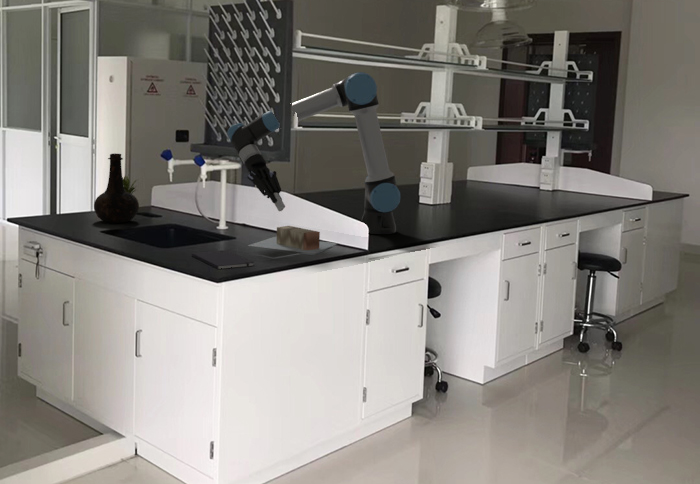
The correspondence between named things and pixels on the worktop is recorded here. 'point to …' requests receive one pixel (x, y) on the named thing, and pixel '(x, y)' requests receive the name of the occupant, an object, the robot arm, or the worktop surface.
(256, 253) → the worktop surface
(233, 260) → the notebook
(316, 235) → the birch block
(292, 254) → the worktop surface
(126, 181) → the house plant
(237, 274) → the worktop surface
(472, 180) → the worktop surface
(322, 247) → the grey mat
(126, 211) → the glass bottle
